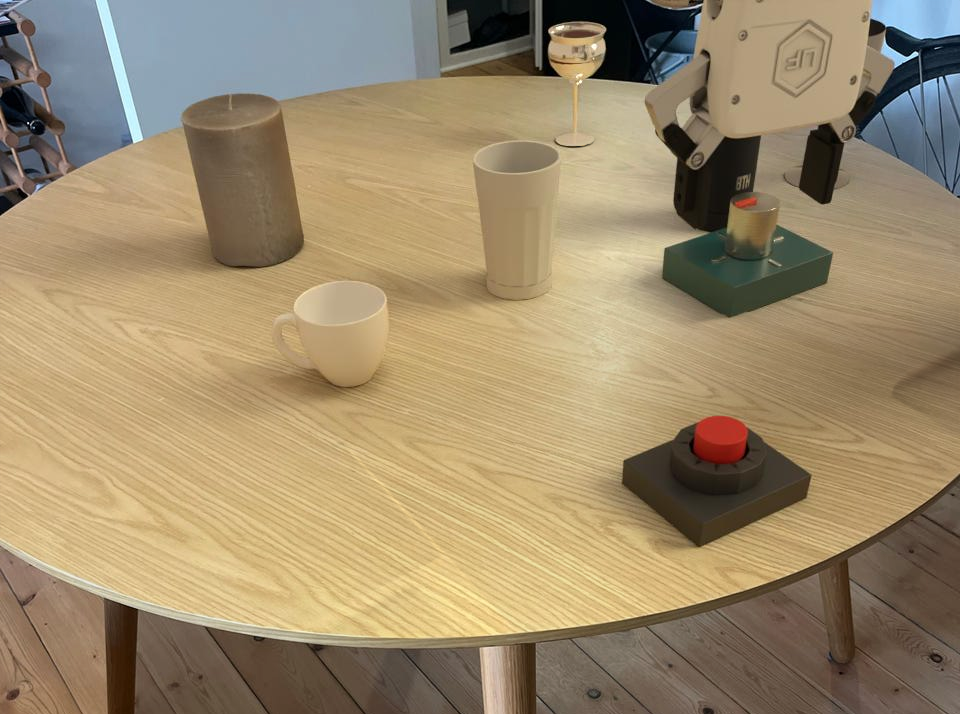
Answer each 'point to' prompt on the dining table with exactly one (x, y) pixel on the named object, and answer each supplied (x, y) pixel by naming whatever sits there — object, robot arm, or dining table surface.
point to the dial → (751, 225)
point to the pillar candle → (244, 178)
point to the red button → (720, 440)
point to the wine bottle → (730, 176)
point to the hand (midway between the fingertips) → (752, 208)
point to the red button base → (714, 486)
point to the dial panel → (745, 271)
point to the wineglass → (576, 61)
